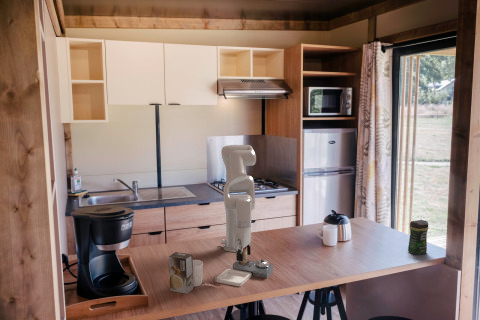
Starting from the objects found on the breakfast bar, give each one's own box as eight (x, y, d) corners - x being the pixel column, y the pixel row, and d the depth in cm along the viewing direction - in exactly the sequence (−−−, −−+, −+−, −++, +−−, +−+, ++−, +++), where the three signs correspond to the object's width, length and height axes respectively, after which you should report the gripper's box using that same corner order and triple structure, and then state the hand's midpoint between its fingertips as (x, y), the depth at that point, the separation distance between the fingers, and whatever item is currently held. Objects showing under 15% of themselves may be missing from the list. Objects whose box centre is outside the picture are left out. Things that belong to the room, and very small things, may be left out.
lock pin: (239, 270, 200) (239, 247, 198) (241, 268, 203) (241, 245, 201) (245, 272, 198) (245, 248, 197) (248, 269, 201) (248, 246, 200)
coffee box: (194, 288, 183) (193, 254, 181) (187, 294, 177) (186, 259, 175) (176, 285, 186) (175, 251, 184) (169, 291, 180) (168, 256, 178)
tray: (215, 283, 188) (215, 278, 187) (227, 273, 199) (227, 268, 199) (240, 288, 182) (240, 283, 182) (252, 277, 194) (252, 272, 194)
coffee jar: (416, 256, 222) (418, 223, 220) (405, 251, 229) (407, 219, 227) (429, 253, 226) (431, 221, 224) (417, 249, 233) (419, 217, 231)
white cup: (186, 280, 191) (186, 260, 190) (203, 279, 192) (203, 259, 191) (185, 287, 184) (185, 266, 182) (203, 286, 184) (203, 265, 183)
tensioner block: (232, 273, 199) (232, 258, 198) (239, 267, 206) (239, 252, 205) (267, 280, 191) (267, 264, 190) (273, 274, 198) (273, 258, 197)
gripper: (244, 218, 207) (244, 250, 209) (228, 227, 191) (228, 262, 194) (257, 219, 204) (257, 253, 206) (243, 229, 188) (243, 264, 190)
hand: (243, 257), depth 200 cm, fingers open, 8 cm apart
